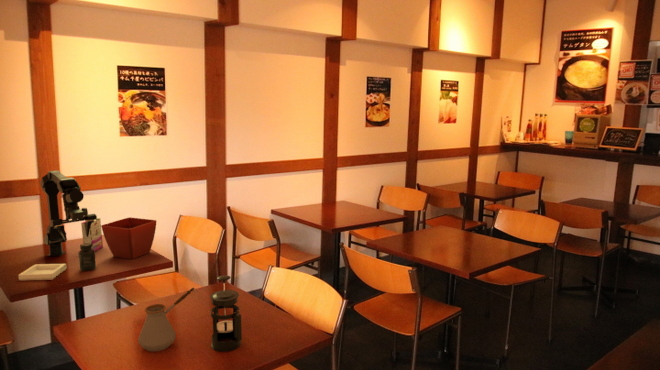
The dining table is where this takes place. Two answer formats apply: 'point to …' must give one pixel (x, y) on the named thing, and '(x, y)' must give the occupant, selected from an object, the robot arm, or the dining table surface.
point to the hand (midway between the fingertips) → (77, 238)
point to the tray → (42, 272)
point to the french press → (226, 327)
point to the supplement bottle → (87, 257)
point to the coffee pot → (158, 327)
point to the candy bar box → (93, 235)
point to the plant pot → (129, 237)
